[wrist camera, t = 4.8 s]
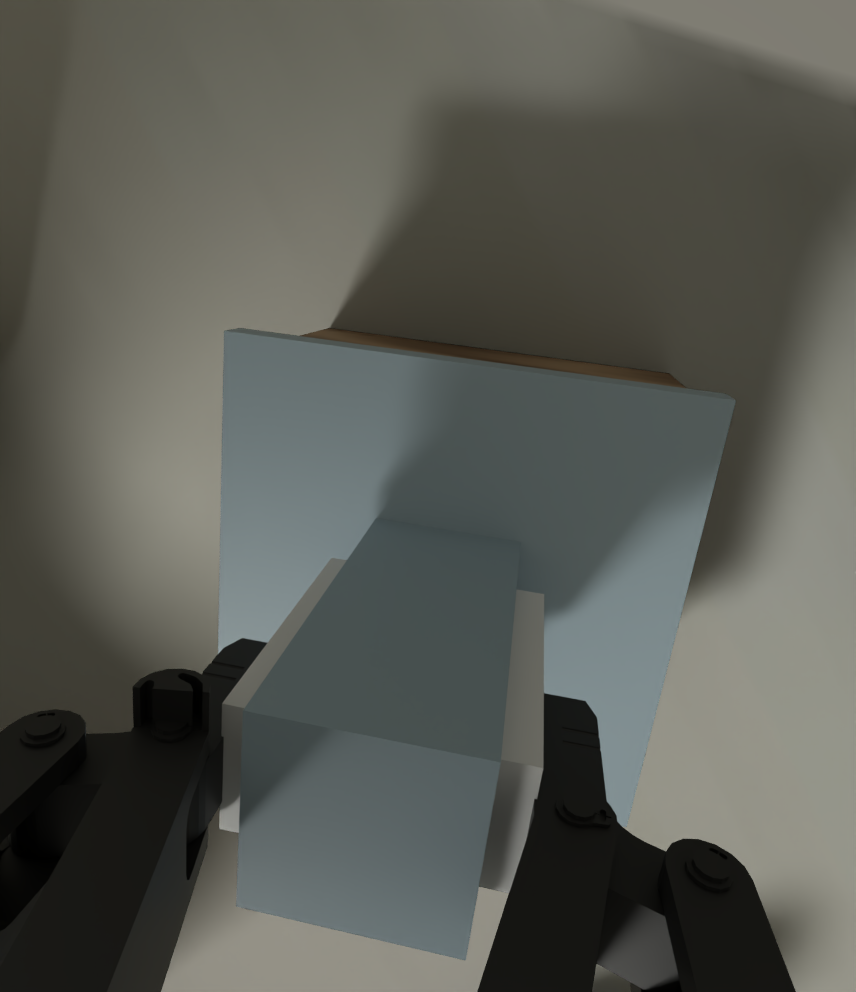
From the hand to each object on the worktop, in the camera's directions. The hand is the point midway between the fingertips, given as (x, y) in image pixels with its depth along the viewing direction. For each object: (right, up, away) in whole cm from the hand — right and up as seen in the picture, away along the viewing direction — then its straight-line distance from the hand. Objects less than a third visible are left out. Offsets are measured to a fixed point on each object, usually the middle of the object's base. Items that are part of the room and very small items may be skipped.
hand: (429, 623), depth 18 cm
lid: (0, +1, +2) cm, 3 cm away
